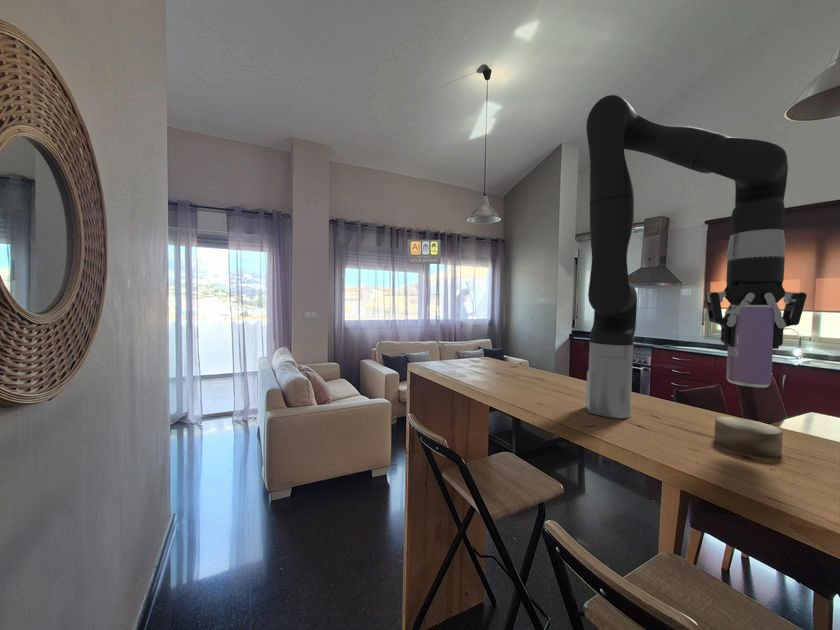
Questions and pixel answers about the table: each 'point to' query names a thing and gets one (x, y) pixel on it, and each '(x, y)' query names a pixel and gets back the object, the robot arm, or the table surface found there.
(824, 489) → the table surface
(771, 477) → the table surface
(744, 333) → the beverage can
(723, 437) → the plinth
